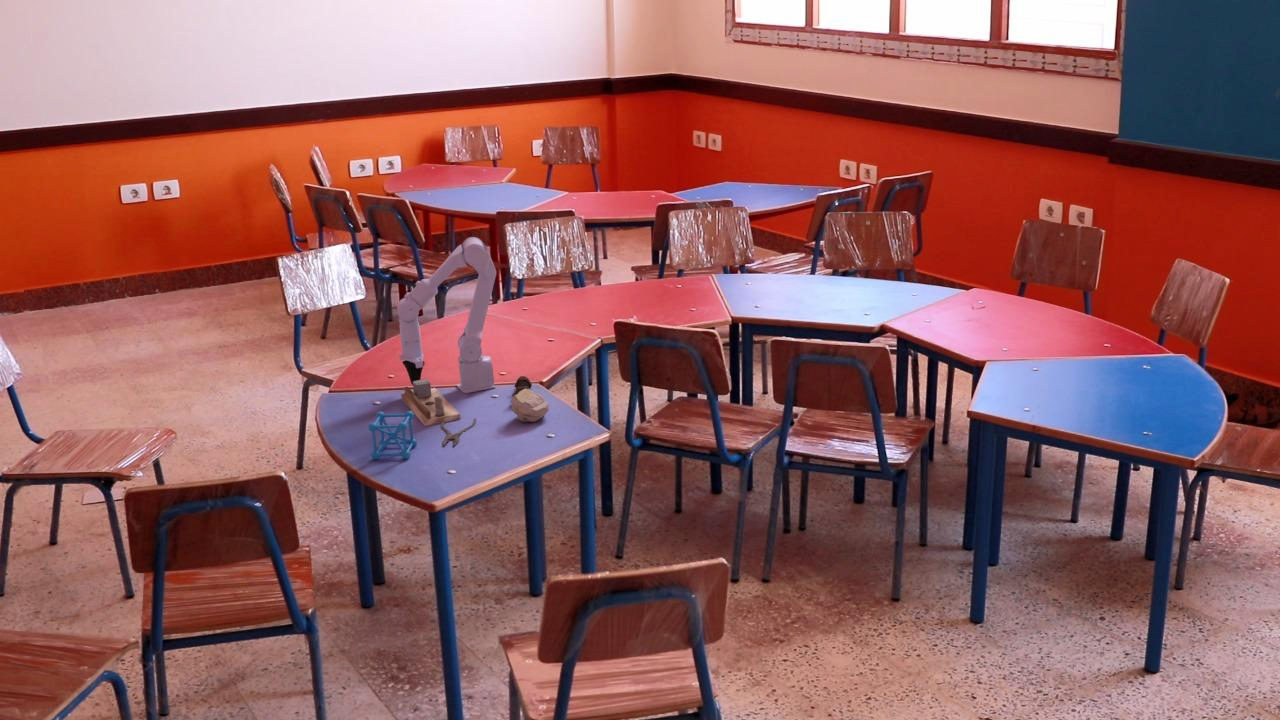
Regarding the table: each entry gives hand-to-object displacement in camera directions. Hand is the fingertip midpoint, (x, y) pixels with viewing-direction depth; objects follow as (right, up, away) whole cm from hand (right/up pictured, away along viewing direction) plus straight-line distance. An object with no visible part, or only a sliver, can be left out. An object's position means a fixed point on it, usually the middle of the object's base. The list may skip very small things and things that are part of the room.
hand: (415, 384), depth 357 cm
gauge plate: (+6, -7, -11) cm, 14 cm away
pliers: (+17, -13, -28) cm, 35 cm away
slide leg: (+3, -3, -6) cm, 7 cm away
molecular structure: (+2, -17, -40) cm, 44 cm away
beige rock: (+35, -9, -21) cm, 42 cm away
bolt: (+32, -3, -4) cm, 32 cm away
